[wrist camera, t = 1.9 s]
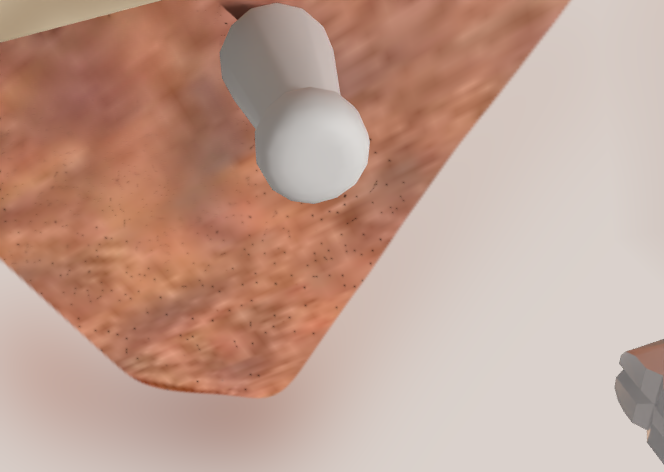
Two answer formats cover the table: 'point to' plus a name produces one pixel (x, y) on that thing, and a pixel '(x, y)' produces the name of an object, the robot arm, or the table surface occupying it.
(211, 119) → the table surface
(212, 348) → the table surface
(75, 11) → the socket block
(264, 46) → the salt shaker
